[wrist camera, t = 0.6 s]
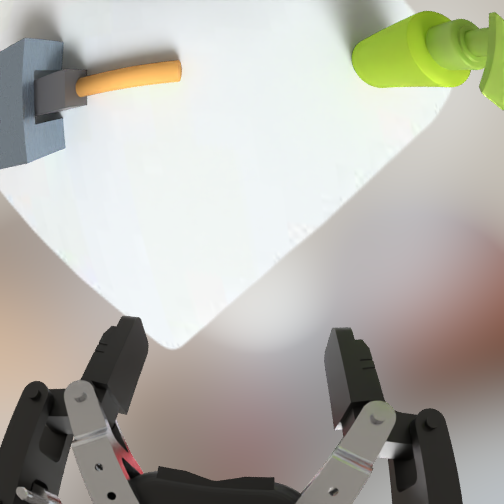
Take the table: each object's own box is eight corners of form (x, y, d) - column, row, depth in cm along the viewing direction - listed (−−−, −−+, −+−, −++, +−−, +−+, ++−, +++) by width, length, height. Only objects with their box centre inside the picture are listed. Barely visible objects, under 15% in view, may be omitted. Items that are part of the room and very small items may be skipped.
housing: (31, 55, 22) (-7, 56, 16) (63, 42, 22) (24, 37, 16) (34, 154, 29) (-2, 169, 23) (65, 148, 29) (27, 163, 23)
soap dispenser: (344, 84, 26) (459, 73, 8) (357, 30, 22) (469, -31, 5) (392, 103, 26) (528, 130, 9) (405, 51, 23) (539, 33, 5)
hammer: (56, 79, 25) (33, 80, 21) (182, 52, 24) (169, 45, 20) (56, 112, 27) (34, 116, 23) (181, 91, 27) (168, 90, 23)
